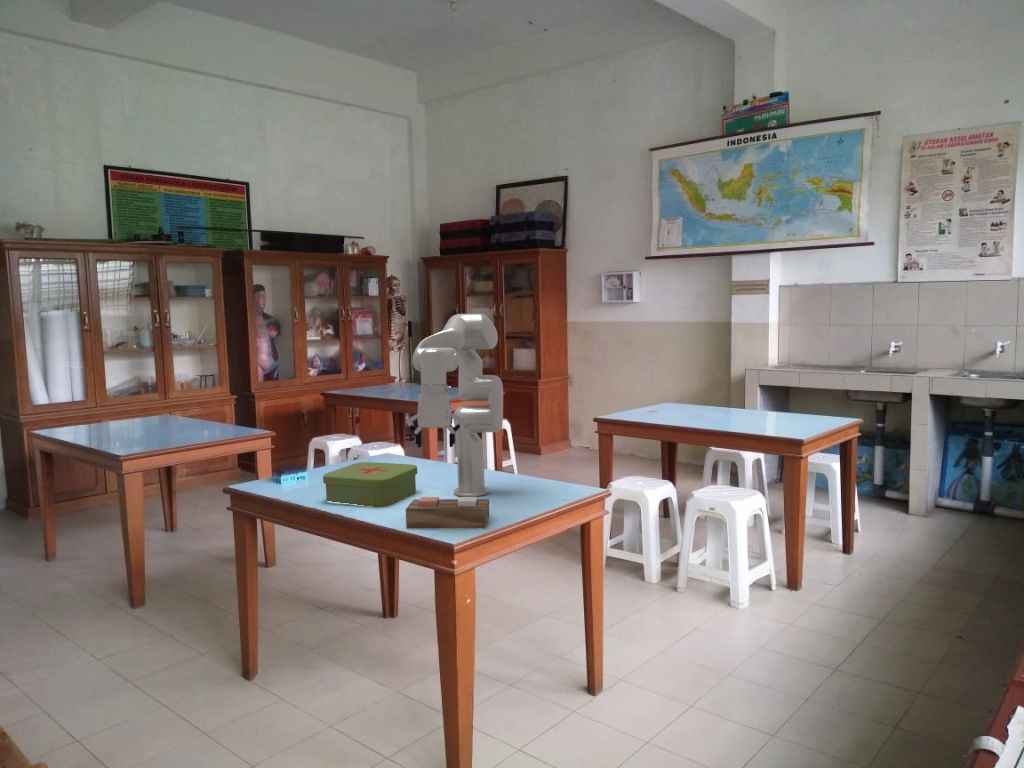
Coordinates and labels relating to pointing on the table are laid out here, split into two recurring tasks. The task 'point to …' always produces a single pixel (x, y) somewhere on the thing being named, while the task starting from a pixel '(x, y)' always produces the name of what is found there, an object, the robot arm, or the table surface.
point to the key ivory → (467, 501)
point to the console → (448, 515)
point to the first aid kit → (371, 483)
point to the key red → (428, 502)
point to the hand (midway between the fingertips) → (435, 446)
